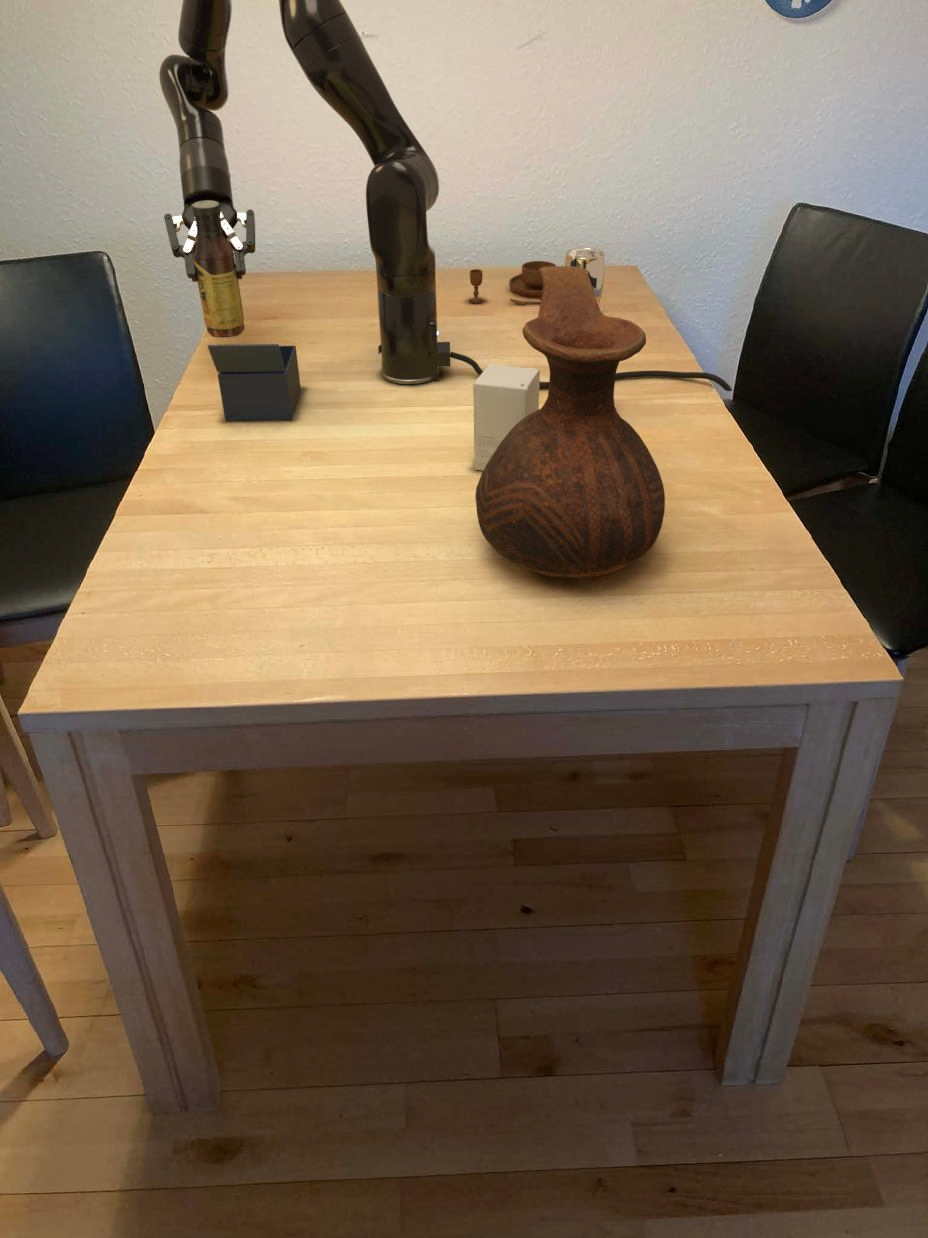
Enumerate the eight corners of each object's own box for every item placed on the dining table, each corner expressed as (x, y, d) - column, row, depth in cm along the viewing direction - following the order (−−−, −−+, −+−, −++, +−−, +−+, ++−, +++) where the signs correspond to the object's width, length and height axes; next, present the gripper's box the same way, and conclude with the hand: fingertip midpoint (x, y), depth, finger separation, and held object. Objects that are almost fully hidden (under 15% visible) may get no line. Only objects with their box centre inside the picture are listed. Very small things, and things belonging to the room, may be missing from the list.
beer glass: (597, 347, 164) (604, 259, 155) (557, 344, 165) (562, 257, 156) (600, 333, 170) (607, 248, 161) (562, 331, 171) (567, 246, 162)
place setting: (571, 304, 183) (572, 273, 179) (468, 304, 183) (468, 274, 179) (564, 277, 197) (566, 248, 193) (469, 277, 197) (469, 248, 193)
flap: (278, 343, 131) (278, 345, 131) (285, 369, 136) (285, 371, 136) (207, 344, 131) (207, 346, 131) (217, 370, 136) (217, 372, 136)
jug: (687, 535, 114) (727, 286, 96) (611, 626, 99) (641, 352, 81) (531, 489, 123) (541, 255, 105) (441, 566, 109) (434, 309, 91)
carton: (300, 389, 150) (295, 345, 146) (291, 420, 141) (286, 374, 137) (238, 390, 150) (231, 346, 146) (225, 421, 141) (217, 375, 136)
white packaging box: (538, 454, 131) (542, 368, 124) (524, 478, 126) (527, 389, 118) (488, 447, 133) (489, 361, 126) (472, 470, 128) (471, 382, 120)
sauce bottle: (209, 326, 154) (187, 197, 142) (247, 325, 154) (229, 196, 142) (204, 340, 149) (180, 208, 136) (243, 339, 149) (224, 207, 137)
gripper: (153, 165, 142) (165, 268, 140) (250, 161, 144) (262, 262, 142) (162, 194, 149) (173, 292, 147) (254, 190, 151) (265, 286, 149)
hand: (217, 277), depth 144 cm, fingers closed on sauce bottle, 6 cm apart
